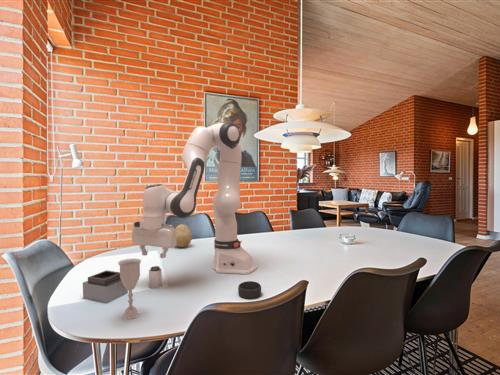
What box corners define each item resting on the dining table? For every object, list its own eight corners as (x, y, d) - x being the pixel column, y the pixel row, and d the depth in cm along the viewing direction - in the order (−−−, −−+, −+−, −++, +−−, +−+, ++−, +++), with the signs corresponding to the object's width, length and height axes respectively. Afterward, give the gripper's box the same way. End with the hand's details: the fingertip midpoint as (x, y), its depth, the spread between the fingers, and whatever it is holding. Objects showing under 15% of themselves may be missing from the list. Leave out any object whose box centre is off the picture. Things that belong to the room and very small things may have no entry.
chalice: (114, 318, 91) (112, 263, 91) (130, 309, 98) (128, 257, 97) (131, 322, 89) (130, 265, 88) (147, 312, 95) (146, 259, 94)
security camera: (164, 285, 119) (163, 266, 119) (156, 289, 115) (156, 270, 114) (154, 283, 121) (154, 265, 121) (146, 287, 116) (146, 268, 116)
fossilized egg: (171, 250, 176) (171, 226, 176) (172, 245, 188) (172, 223, 188) (192, 248, 179) (192, 225, 178) (191, 244, 191) (191, 222, 191)
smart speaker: (233, 296, 108) (233, 286, 107) (246, 288, 115) (246, 279, 115) (253, 302, 103) (253, 291, 103) (265, 293, 110) (265, 283, 110)
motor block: (127, 292, 111) (127, 272, 111) (106, 303, 102) (106, 281, 102) (98, 287, 117) (97, 268, 117) (75, 296, 108) (75, 276, 108)
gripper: (179, 224, 116) (179, 257, 116) (140, 220, 123) (140, 252, 123) (170, 226, 110) (169, 261, 110) (129, 222, 117) (129, 255, 118)
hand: (153, 256), depth 117 cm, fingers open, 8 cm apart
